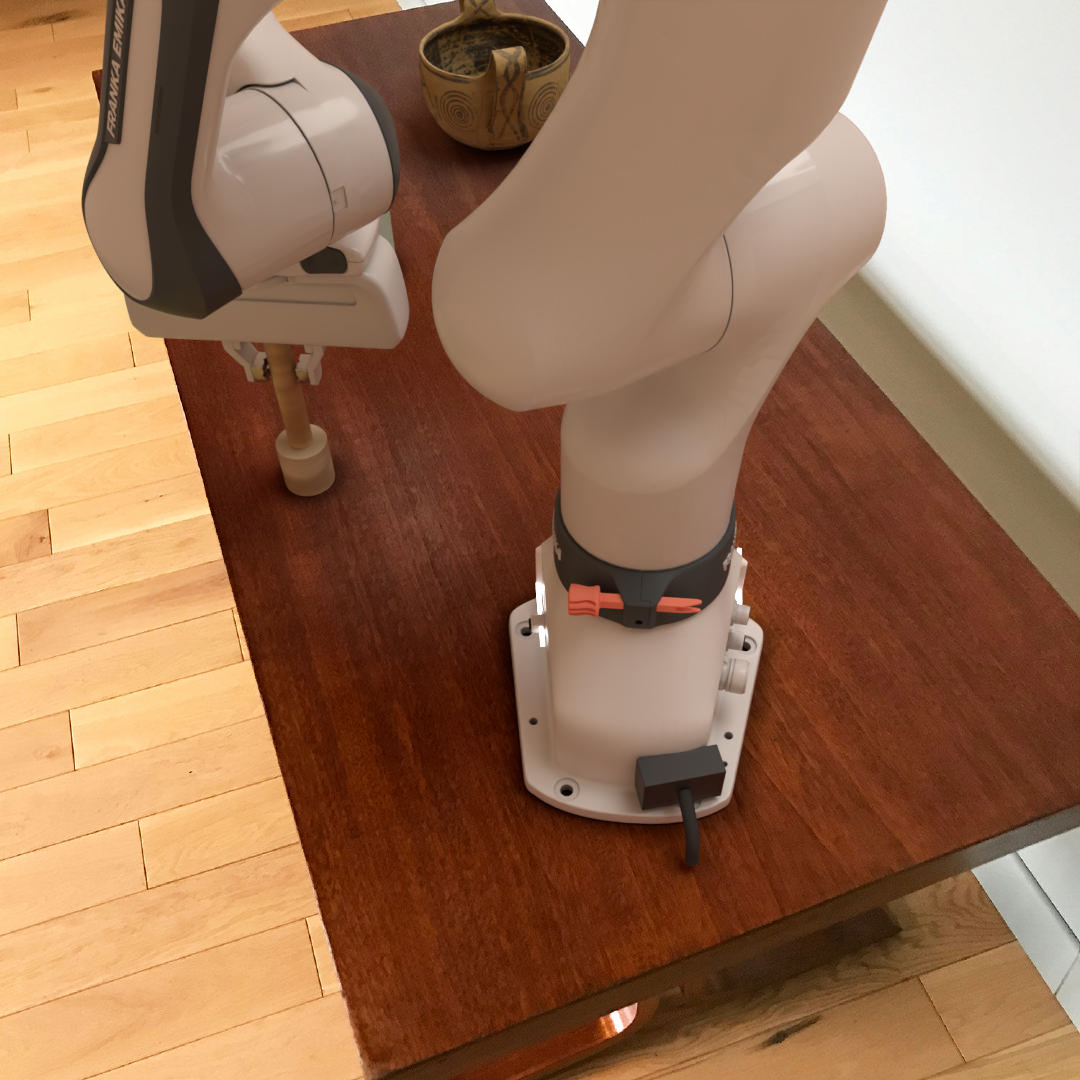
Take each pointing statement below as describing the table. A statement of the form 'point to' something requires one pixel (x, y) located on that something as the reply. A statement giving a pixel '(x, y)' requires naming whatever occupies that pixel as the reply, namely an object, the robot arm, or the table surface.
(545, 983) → the table surface
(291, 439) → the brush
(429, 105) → the ceramic bowl
